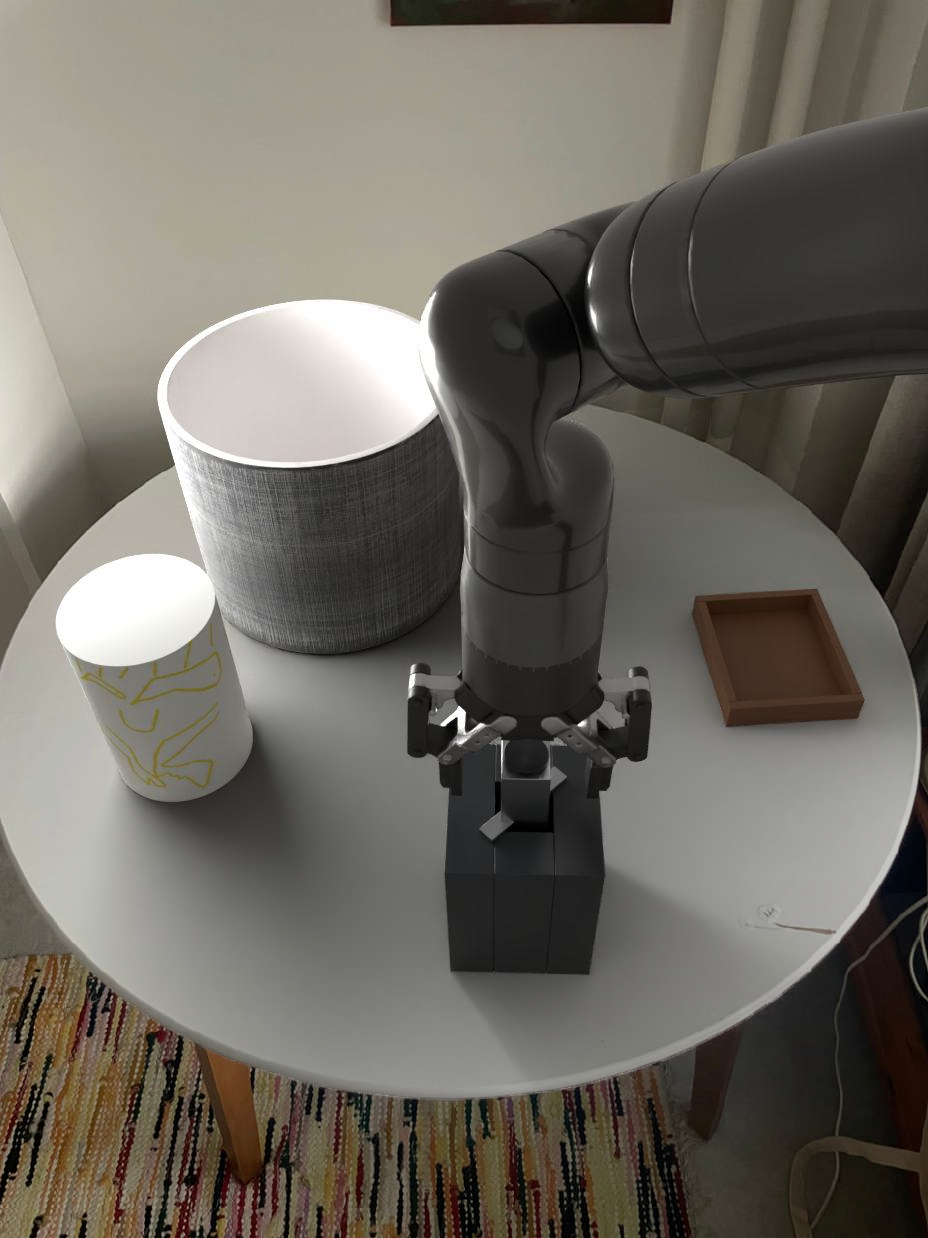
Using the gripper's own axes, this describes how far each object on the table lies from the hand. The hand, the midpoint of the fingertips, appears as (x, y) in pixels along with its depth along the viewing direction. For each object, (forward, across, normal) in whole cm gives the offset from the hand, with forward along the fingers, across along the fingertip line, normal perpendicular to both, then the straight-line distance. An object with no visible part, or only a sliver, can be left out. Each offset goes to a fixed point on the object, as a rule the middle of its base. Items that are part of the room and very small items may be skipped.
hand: (524, 785), depth 65 cm
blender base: (+16, 0, 0) cm, 16 cm away
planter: (+17, -18, +38) cm, 45 cm away
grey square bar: (+11, 0, 0) cm, 11 cm away
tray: (+16, +23, +25) cm, 38 cm away
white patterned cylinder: (+17, -29, +15) cm, 36 cm away
